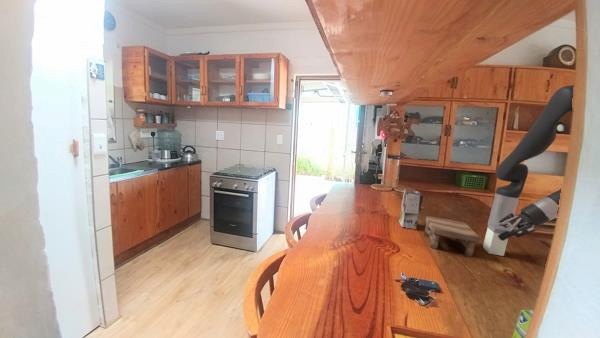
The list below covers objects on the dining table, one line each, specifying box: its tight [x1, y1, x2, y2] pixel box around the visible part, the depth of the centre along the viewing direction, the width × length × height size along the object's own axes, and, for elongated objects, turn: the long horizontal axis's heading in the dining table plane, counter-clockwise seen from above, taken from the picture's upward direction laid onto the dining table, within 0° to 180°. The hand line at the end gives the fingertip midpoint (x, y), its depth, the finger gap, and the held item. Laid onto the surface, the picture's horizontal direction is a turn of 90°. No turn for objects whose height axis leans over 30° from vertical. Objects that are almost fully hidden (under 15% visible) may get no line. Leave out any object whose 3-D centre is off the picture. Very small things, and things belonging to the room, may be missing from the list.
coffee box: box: [398, 188, 424, 230], centre depth 119 cm, size 9×6×16 cm
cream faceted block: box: [482, 223, 509, 257], centre depth 101 cm, size 6×5×10 cm
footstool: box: [423, 215, 480, 258], centre depth 103 cm, size 15×15×8 cm
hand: (496, 235), depth 101 cm, fingers closed on cream faceted block, 5 cm apart
